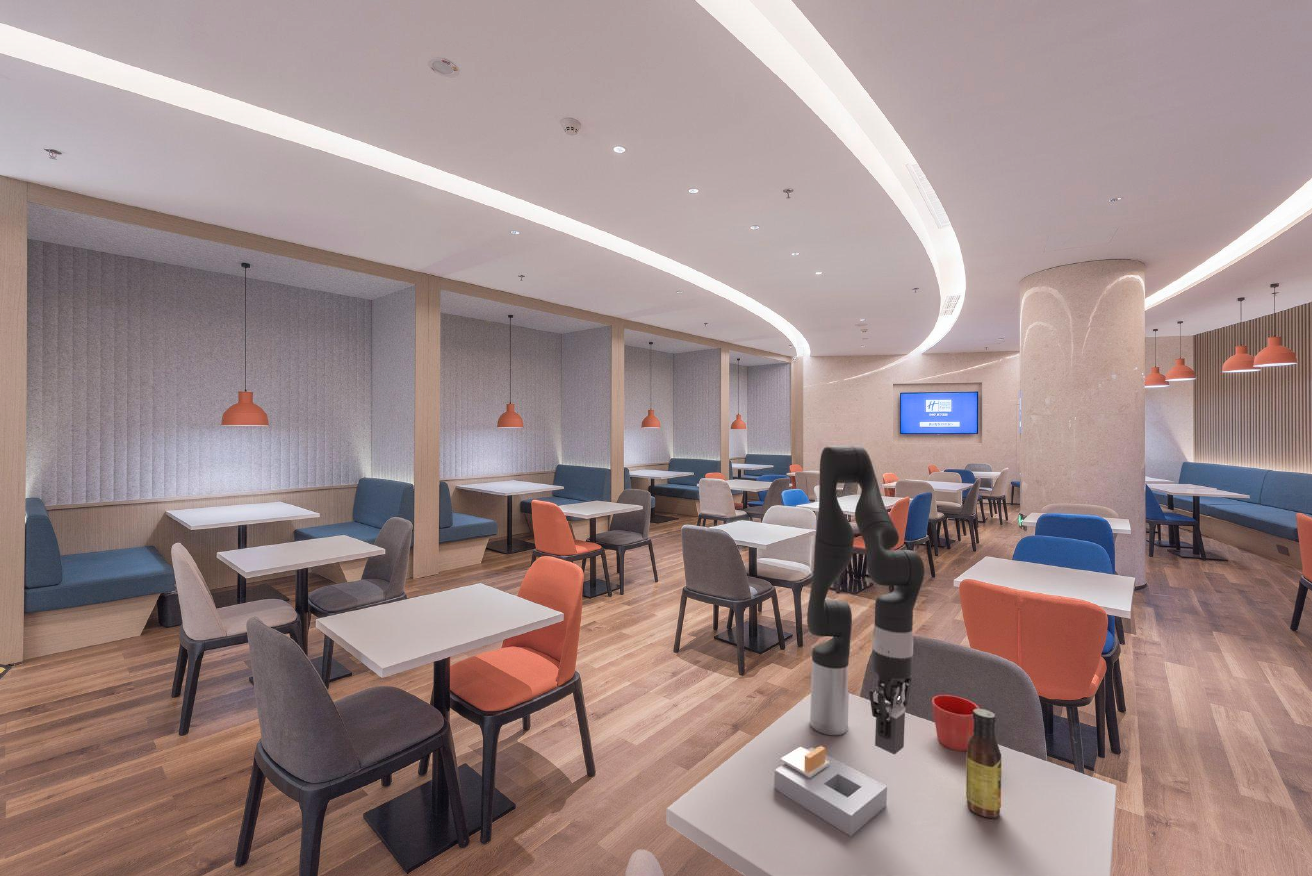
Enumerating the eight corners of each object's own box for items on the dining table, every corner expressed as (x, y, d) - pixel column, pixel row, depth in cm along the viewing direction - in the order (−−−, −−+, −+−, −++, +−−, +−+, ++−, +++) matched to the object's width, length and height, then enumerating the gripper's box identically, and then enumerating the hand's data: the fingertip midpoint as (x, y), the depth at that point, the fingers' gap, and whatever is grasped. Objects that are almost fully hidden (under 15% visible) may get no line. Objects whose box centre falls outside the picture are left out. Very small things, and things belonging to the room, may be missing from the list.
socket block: (811, 764, 127) (812, 747, 127) (886, 805, 114) (887, 786, 114) (774, 788, 118) (774, 770, 118) (850, 836, 105) (851, 815, 105)
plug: (884, 738, 114) (885, 700, 113) (903, 747, 111) (905, 708, 110) (874, 745, 111) (876, 706, 111) (894, 754, 108) (896, 714, 108)
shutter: (800, 749, 126) (801, 733, 126) (829, 764, 120) (830, 748, 120) (780, 761, 121) (781, 744, 121) (809, 777, 115) (810, 760, 115)
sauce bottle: (1005, 822, 110) (1009, 723, 110) (971, 817, 111) (974, 719, 111) (992, 801, 116) (995, 708, 116) (960, 796, 117) (963, 704, 117)
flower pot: (920, 736, 141) (922, 698, 141) (949, 727, 146) (951, 691, 146) (959, 759, 131) (960, 718, 131) (988, 749, 136) (990, 710, 136)
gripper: (894, 664, 103) (891, 755, 103) (926, 646, 112) (923, 728, 113) (857, 651, 108) (854, 737, 109) (890, 635, 118) (887, 713, 118)
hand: (889, 732), depth 111 cm, fingers closed on plug, 4 cm apart
